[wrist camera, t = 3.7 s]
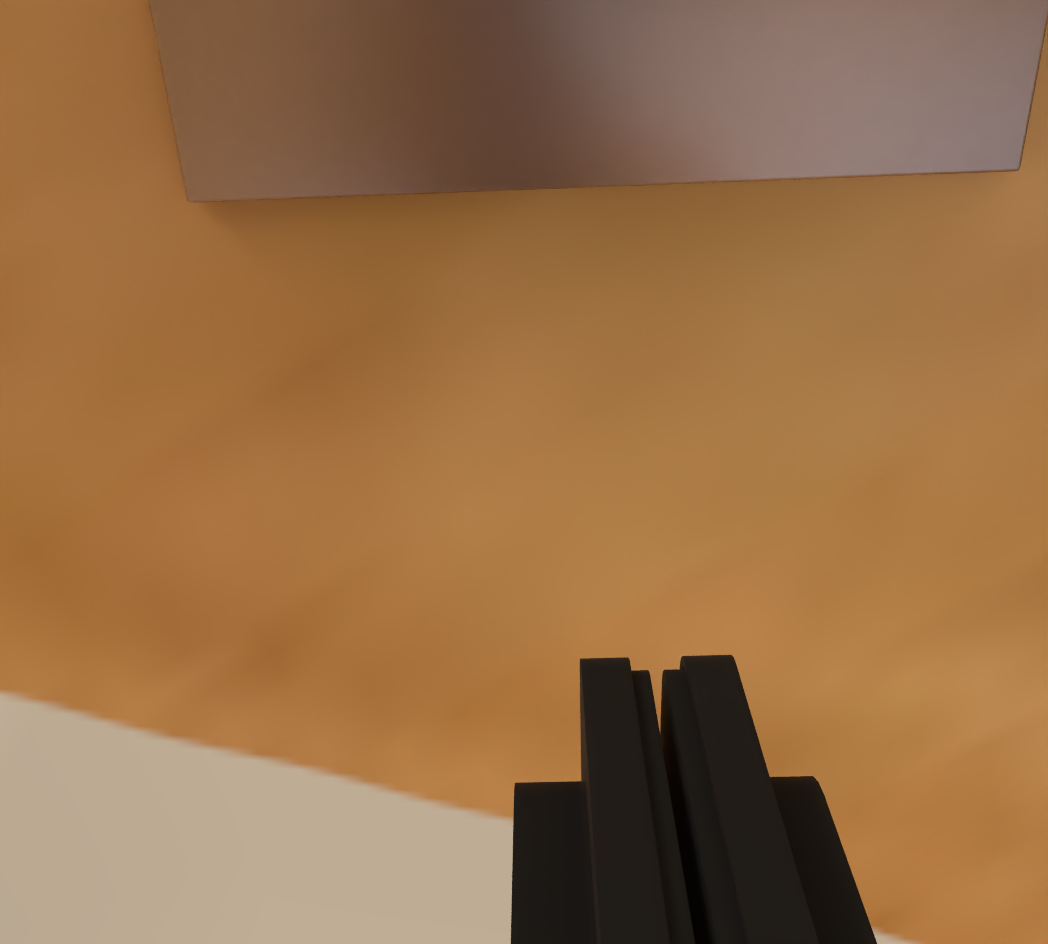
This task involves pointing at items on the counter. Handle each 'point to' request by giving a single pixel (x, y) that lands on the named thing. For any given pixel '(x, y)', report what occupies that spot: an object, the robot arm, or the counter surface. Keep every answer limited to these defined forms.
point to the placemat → (588, 92)
